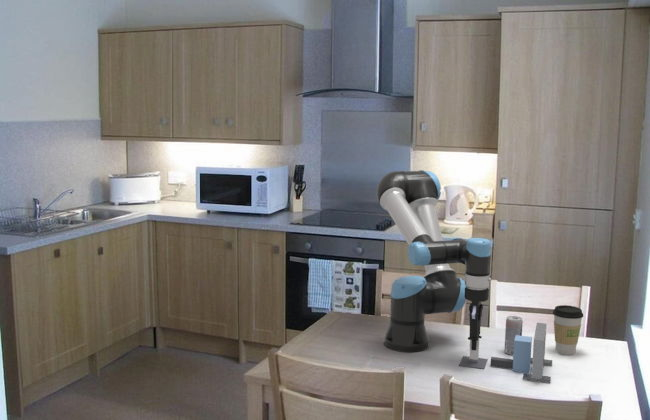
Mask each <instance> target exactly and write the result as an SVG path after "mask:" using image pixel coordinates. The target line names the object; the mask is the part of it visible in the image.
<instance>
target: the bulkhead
mask: <svg viewBox="0 0 650 420" xmlns="http://www.w3.org/2000/svg"><path fill="white" fill-rule="evenodd" d="M535 325H536V326H535V332H534V336H533V345H532V357H531V362H530V365H531V373H523V374H522V380H523V381H530V382H537V383H543V384H551V381H552V376H549V375H547V376H546V375H543V371H544V368H545V366H546V367H553V360H552V359H547V358H546V357H545V354H546V339H547V323H546V322H545V323H543V322H536V324H535ZM545 358H546V359H545Z"/></svg>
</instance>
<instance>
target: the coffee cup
mask: <svg viewBox="0 0 650 420" xmlns="http://www.w3.org/2000/svg"><path fill="white" fill-rule="evenodd" d="M552 314H553V319H554V320H553V328H554V329H553V330H554V342H555V352H556V353H558V354H560V355H566V356H567V355H568V356H569V355H570V356H571V355H572V356H573V355H575V354H576V350H577V349H576V348H577V345H578V342H579V337H580V331H581V326H582V319H583V318H584V313H583V311H582V309H581V308H580V307H578V306H574V305H567V304H566V305H565V304H564V305H556V306H555V307H554V309H553V310H552Z"/></svg>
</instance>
